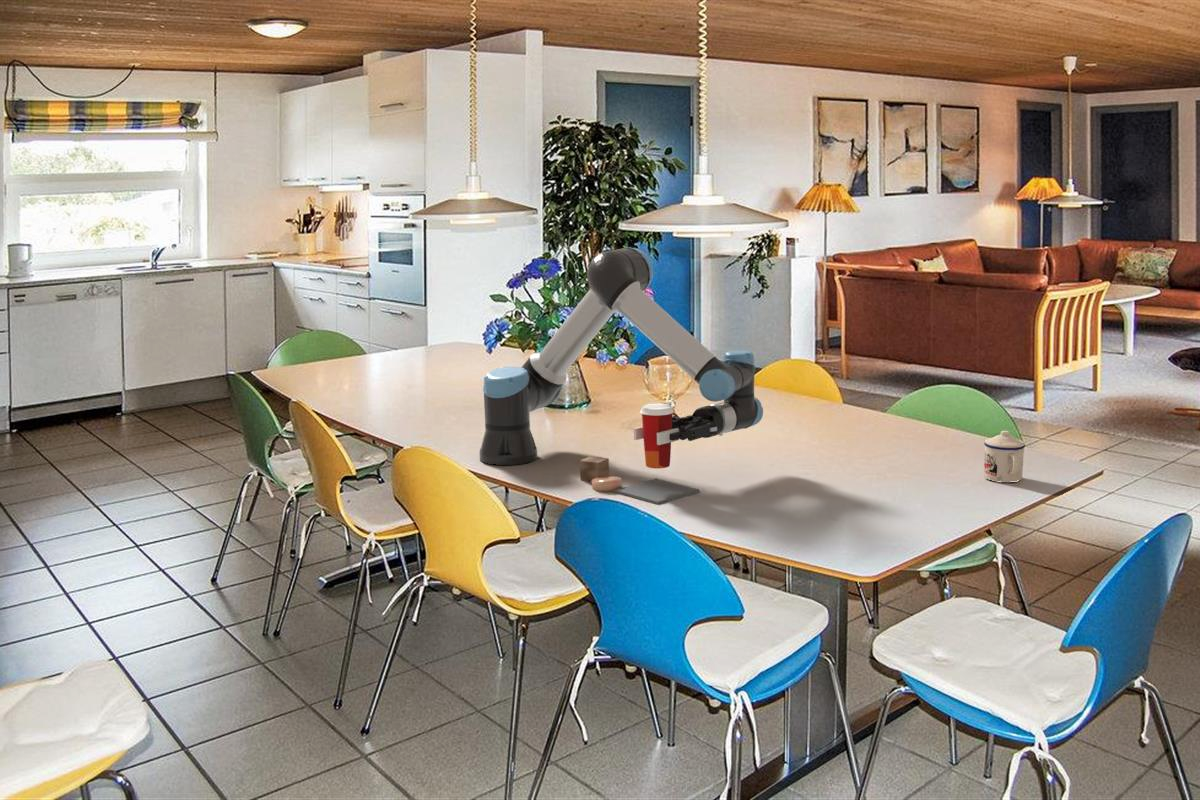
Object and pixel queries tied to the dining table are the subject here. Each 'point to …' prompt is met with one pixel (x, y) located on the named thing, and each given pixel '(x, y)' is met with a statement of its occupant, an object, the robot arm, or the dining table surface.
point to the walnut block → (594, 468)
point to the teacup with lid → (1003, 458)
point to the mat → (656, 491)
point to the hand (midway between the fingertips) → (646, 436)
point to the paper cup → (653, 423)
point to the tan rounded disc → (606, 483)
